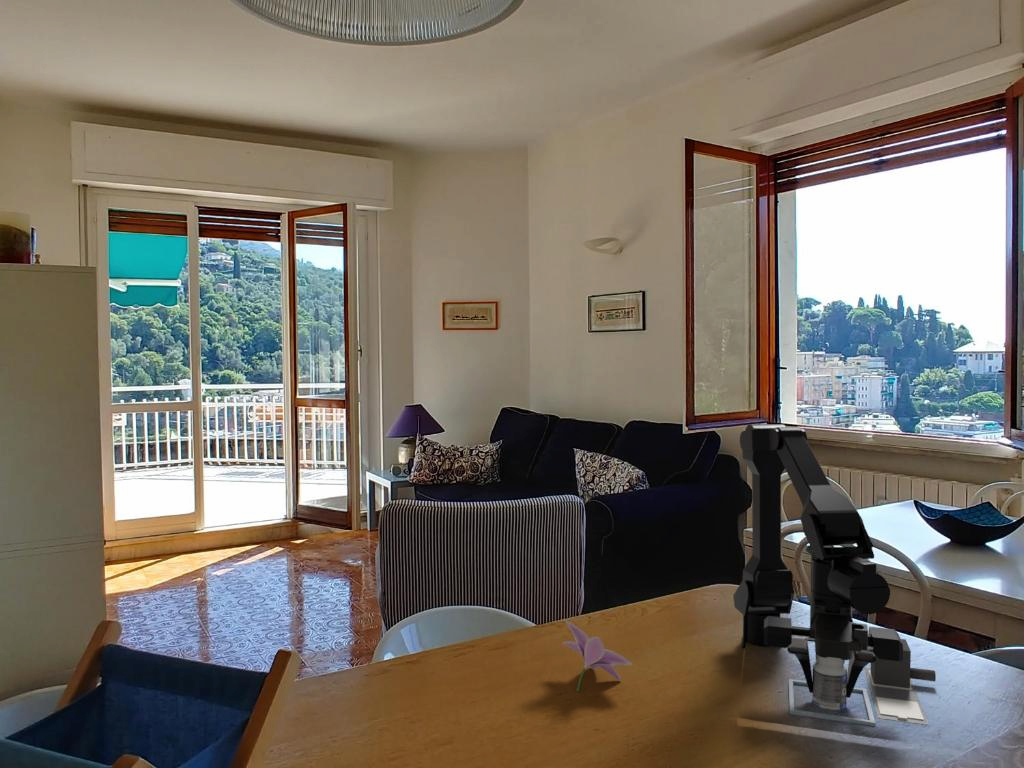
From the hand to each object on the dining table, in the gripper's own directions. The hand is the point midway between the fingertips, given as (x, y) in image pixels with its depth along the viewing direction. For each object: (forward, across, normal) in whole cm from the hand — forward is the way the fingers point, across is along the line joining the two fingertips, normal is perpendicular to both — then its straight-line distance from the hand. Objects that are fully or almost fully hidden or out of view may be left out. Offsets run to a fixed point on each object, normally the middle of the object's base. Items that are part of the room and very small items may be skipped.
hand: (829, 694), depth 115 cm
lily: (+2, -35, -3) cm, 35 cm away
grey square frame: (+2, 0, 0) cm, 2 cm away
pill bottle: (+2, 0, 0) cm, 2 cm away
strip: (+2, +10, +6) cm, 11 cm away
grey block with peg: (+1, +11, +11) cm, 16 cm away
